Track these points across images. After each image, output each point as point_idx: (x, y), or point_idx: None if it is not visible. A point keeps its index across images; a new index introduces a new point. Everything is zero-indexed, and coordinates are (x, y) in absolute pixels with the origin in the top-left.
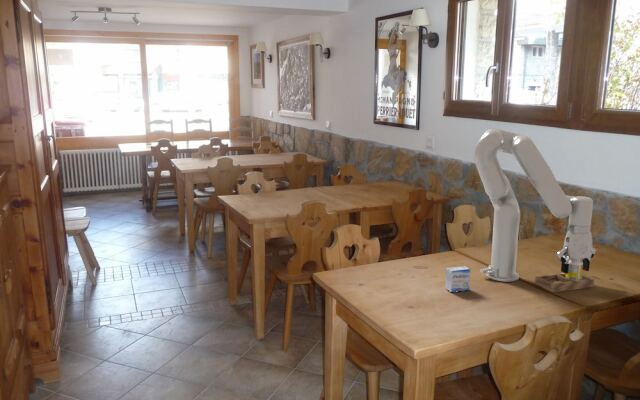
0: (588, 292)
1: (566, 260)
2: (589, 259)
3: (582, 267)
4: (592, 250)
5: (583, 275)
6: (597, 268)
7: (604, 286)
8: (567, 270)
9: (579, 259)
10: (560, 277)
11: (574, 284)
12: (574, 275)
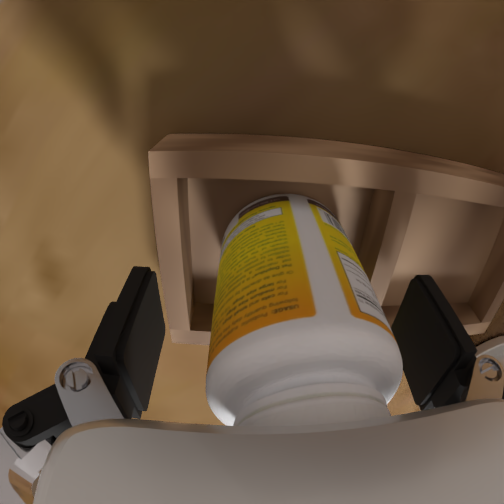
0: (320, 48)
1: (499, 392)
2: (89, 385)
3: (253, 296)
4: (9, 489)
5: (176, 264)
6: (4, 342)
7: (80, 120)
8: (442, 296)
9: (332, 416)
10: (380, 295)
11: (392, 158)
12: (348, 245)
